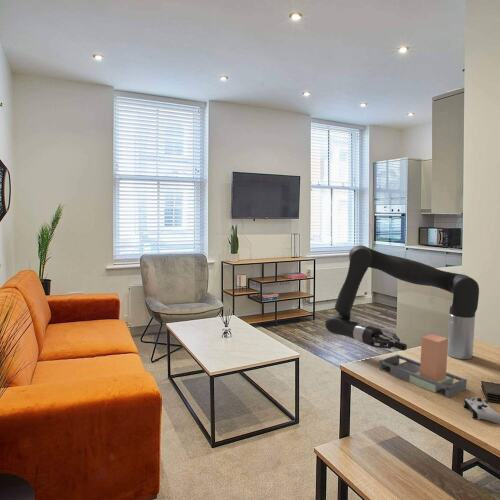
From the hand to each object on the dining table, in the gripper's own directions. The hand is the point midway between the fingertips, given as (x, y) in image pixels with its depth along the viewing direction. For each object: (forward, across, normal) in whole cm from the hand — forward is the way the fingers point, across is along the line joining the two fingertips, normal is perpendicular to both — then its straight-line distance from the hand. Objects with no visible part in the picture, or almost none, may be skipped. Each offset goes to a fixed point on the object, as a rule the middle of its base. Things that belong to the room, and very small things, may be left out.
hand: (405, 347), depth 146 cm
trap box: (+6, 0, +10) cm, 11 cm away
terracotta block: (+11, 0, +7) cm, 13 cm away
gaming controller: (+30, -7, +10) cm, 33 cm away
